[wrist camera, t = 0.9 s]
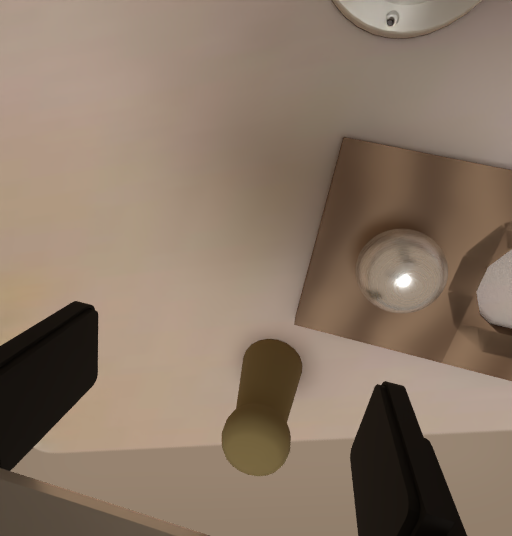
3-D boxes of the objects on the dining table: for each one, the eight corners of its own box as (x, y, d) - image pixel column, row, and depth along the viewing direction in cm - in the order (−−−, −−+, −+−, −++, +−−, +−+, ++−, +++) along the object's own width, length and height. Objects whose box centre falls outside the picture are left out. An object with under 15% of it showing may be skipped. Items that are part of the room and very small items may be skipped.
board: (295, 316, 31) (294, 324, 30) (343, 138, 25) (344, 137, 24) (564, 386, 29) (577, 398, 27) (685, 206, 23) (709, 209, 22)
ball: (364, 213, 26) (377, 230, 20) (444, 230, 25) (480, 254, 19) (342, 282, 28) (348, 316, 22) (415, 300, 27) (440, 339, 22)
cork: (313, 358, 32) (310, 453, 22) (284, 399, 35) (269, 502, 24) (259, 328, 32) (231, 410, 22) (233, 371, 35) (197, 464, 24)
